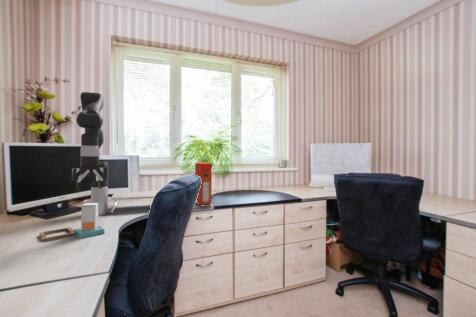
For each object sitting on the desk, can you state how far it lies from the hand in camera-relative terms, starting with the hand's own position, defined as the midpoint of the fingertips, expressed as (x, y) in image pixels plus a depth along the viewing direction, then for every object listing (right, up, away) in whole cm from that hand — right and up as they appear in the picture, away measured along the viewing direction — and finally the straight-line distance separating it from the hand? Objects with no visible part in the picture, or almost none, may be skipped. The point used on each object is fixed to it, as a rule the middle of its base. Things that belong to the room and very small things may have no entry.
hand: (89, 189), depth 111 cm
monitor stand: (+2, -21, +55) cm, 59 cm away
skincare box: (0, -19, +1) cm, 19 cm away
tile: (0, -21, 0) cm, 21 cm away
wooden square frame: (-13, -21, -3) cm, 25 cm away
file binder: (+43, -21, +72) cm, 86 cm away
